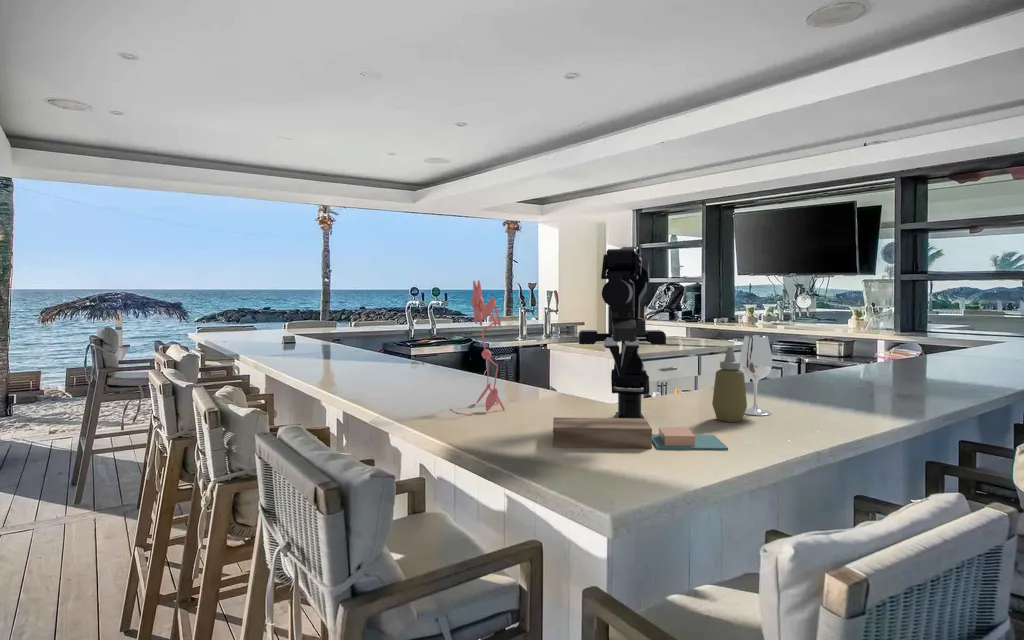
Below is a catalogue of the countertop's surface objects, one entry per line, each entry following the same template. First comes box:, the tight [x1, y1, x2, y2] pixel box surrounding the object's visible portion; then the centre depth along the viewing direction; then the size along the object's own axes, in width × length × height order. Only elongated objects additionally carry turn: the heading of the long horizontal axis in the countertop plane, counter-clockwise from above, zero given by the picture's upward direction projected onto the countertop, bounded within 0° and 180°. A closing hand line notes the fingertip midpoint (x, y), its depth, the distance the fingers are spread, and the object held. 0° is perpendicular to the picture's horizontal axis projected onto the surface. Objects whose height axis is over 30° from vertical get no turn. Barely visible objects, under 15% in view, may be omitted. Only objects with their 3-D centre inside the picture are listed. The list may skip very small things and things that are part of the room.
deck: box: [552, 417, 653, 449], centre depth 130 cm, size 10×20×4 cm, turn 86°
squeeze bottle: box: [711, 346, 748, 423], centre depth 150 cm, size 8×8×18 cm
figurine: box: [451, 279, 506, 416], centre depth 166 cm, size 15×26×35 cm, turn 12°
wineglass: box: [739, 334, 773, 417], centre depth 158 cm, size 8×8×20 cm
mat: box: [652, 433, 729, 451], centre depth 129 cm, size 11×14×1 cm
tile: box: [658, 426, 695, 446], centre depth 129 cm, size 8×6×2 cm
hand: (621, 376), depth 136 cm, fingers closed
